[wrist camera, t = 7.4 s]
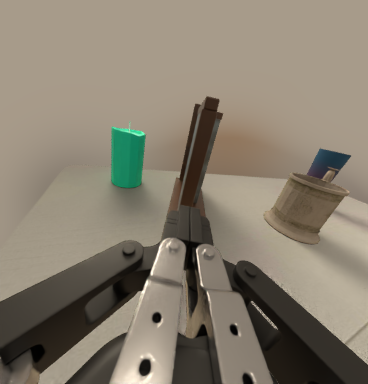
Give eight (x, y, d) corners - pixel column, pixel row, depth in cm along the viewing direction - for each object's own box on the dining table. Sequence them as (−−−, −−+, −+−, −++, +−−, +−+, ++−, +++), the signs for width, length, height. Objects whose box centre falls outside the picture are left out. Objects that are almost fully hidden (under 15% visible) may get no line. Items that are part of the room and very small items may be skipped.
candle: (111, 187, 29) (111, 119, 24) (111, 175, 34) (111, 116, 29) (143, 188, 31) (149, 126, 26) (139, 176, 36) (143, 123, 31)
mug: (309, 251, 24) (363, 182, 19) (254, 216, 31) (283, 158, 26) (330, 229, 33) (371, 177, 27) (283, 205, 39) (309, 160, 34)
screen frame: (158, 254, 18) (192, 68, 10) (175, 183, 37) (191, 103, 30) (208, 263, 18) (277, 90, 10) (198, 188, 38) (220, 110, 30)
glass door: (170, 244, 17) (205, 95, 11) (178, 198, 27) (197, 107, 21) (181, 246, 17) (221, 99, 11) (184, 199, 27) (206, 109, 21)
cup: (323, 205, 46) (357, 157, 40) (308, 204, 44) (342, 153, 37) (302, 194, 52) (328, 150, 45) (288, 193, 49) (314, 147, 43)
